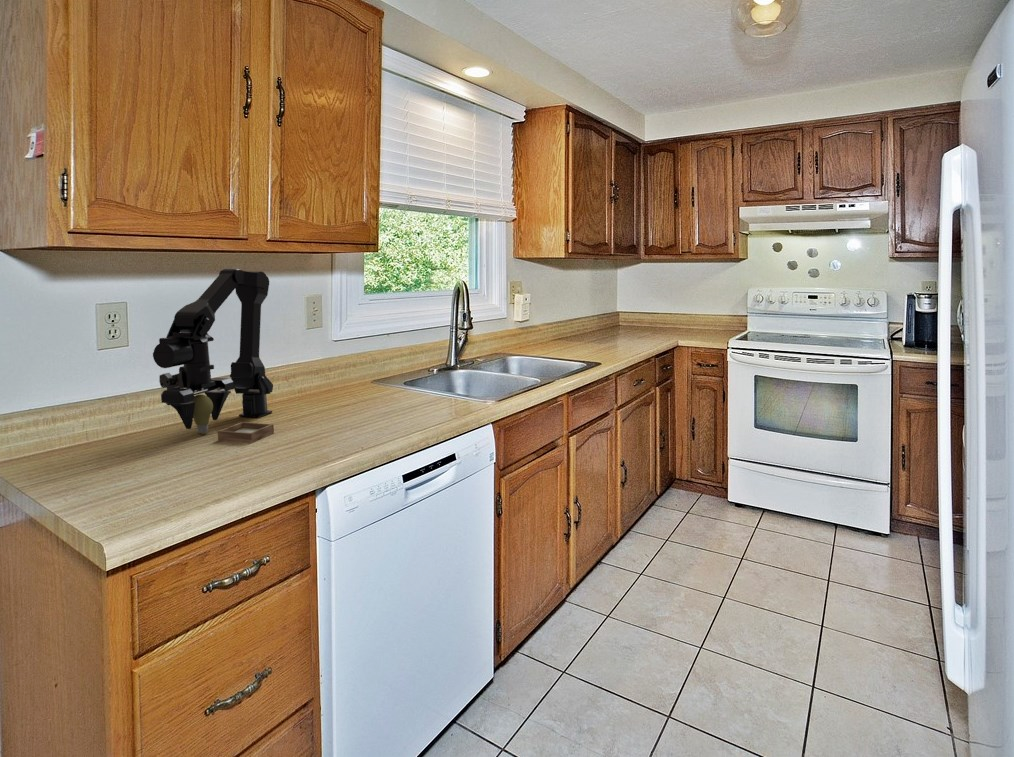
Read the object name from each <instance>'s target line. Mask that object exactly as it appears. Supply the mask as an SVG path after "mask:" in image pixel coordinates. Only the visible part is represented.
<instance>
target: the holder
mask: <svg viewBox="0 0 1014 757" xmlns="http://www.w3.org/2000/svg"><path fill="white" fill-rule="evenodd" d="M273 434H275V427H274V424H273V423H259V422H246V421H245V422H244V421H241V422H238V423H236V424H233V425H231V426H228V427H226V428H223V429H220V430H217V441H218V442H219V441H220V442H233V443H234V442H235V443H243V444H244V443H246V444H253V443H255V442H256V441H259V440H261V439H264V438H266V437H269V436H271V435H273Z"/></svg>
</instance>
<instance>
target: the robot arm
mask: <svg viewBox="0 0 1014 757" xmlns="http://www.w3.org/2000/svg"><path fill="white" fill-rule="evenodd" d="M269 286H270V279H269V277H268V276H267V274H266V273H265V272H264V271H263V270H262V271H260V270H259V271H247V270H241V269H240V268H239V269H238V268H223V269H221V270H220V271H219V273H218V276H217V277H216V278H215V279H214V281H213V282H212V283H211V284H210V285H209V286H208V287H207V288H206V290H205V291H204V292H203V293H202V294H201V295H200V296H199V297H198V298H197V299H196V300H195V301H193V302H190V303H187V304H186V305H184V306H183V307H181V308H180V309H179V310H178V311H177V312H176V313H175V315H174V317H173V321H172V324H171V326H170V328H169V330H168V333H167V334H166V337H159V338H158V342H159V343H158V344H157V345H156V346H155V347H154V349H153V352H152V357H153V361H154V363H155V364H156V365H157V366H158V367H160V368H162V369H169V368H174V367H178V366H179V368H178V373H176V374H172V373H170V372H166V373H162V374H159V376H158V377H159V385H160V387H161V388H162V389H165V390H163V391H162V392H161V393H160V401H161V403H162V404H163V403H164V404H166V406H171V407H172V408H173V409H175V411H176V413H177V414H178V415H179V418H180V419H181V422H182V423H183V425H184V427H185V429H186V430H191V429H192V428H193V421H194V419H193V415H194V407H195V402H191V401H192V400H193V398H194V396H196V395H202V394H204V395H206V396H208V397H209V398H210V399H211V400H212V403H213V410H212V413H211V415H210V416H211V418H212V420H213V421H218V419H219V416H220V413H221V412H222V410H223V407H224V405H225V402H226V401H227V399H228V396H229V394H232V391H233V390H234V392H235V394H236V395H238V394H240V395H241V398H242V399H241V400H242V401H241V405H242V413H239V414H238V416H239V417H248V418H261V417H264V416H267V415H270V414H272V413H273V410H268V403H267V402H268V401H267V398H268V397H267V395H269V394H271V393H273V388H274V384H273V383H272V381H271V380H270V379H269V378H268V377H267V375H266V367H265V365H264V364H263V362H262V359H261V358H260V345H261V344H260V343H261V342H260V340H261V338H260V337H261V322H262V320H261V316H262V312H261V311H262V305H263V303H264V301H265V300H266V299H267V297H268V294H269V290H270V289H269V288H270V287H269ZM234 290H235V295H236V296H237V298H238V300H239V302H240V304H241V308H240V309H241V310H240V332H239V333H240V334H239V337H240V338H239V356H238V358H237V359H236V361H235V362H231V364H230V375H229V377H212V374H211V370H214V369H215V365H214V364H210V363H211V362H210V352H209V342H214V341H215V339H214V337H213V336H212V335H210V334H209V333H208V332H210V330H211V328H212V326H214V323H215V321H216V318H215V317H216V313H217V311H218V310H219V308H221V306H222V305H223V304H224V303H225V302H226V300H227V299H228V297H229V296H230V295H231V294H232V293H233V292H234ZM231 390H232V391H231Z"/></svg>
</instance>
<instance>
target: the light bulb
mask: <svg viewBox="0 0 1014 757" xmlns="http://www.w3.org/2000/svg"><path fill="white" fill-rule="evenodd" d="M191 402H195V407H194V415H193V421H194V423H195V425H196V429H197V433H198V434H200V435H202V436H204V435H206V434H207V433H209V422H210V417H211V416H212V415H211V413H212V410H213V403H212V400H211V399H210V398H209V397H208V396H206V394H197V395H194V398H193V400H192V401H191Z"/></svg>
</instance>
